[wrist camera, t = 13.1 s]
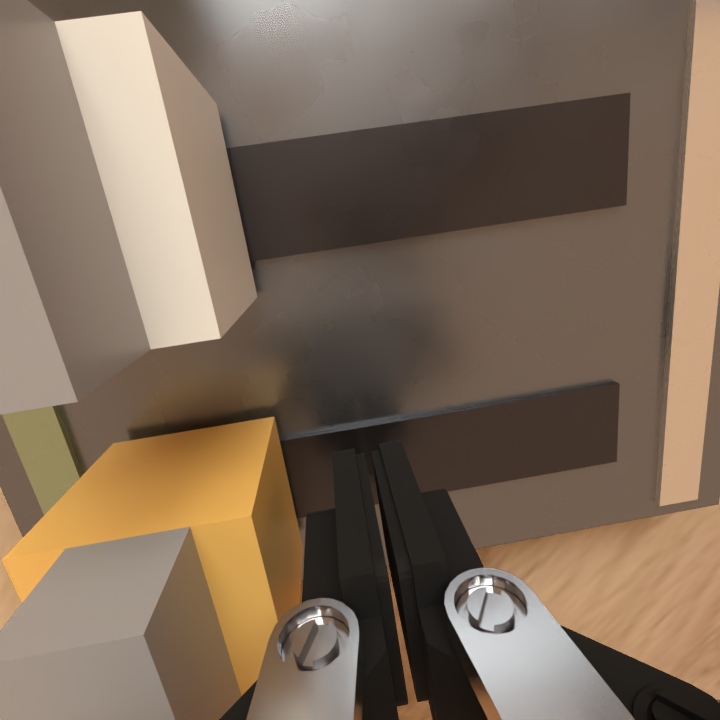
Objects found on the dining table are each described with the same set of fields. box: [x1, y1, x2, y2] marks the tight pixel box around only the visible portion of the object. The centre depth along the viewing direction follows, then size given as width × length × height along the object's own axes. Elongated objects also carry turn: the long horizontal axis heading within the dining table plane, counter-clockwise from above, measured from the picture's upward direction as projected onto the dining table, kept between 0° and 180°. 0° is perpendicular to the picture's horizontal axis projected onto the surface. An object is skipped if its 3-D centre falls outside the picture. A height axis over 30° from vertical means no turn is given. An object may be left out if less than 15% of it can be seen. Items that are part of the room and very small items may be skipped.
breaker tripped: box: [0, 417, 303, 720], centre depth 9 cm, size 4×4×6 cm
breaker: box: [0, 0, 257, 414], centre depth 7 cm, size 4×4×6 cm
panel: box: [0, 0, 720, 581], centre depth 11 cm, size 20×21×2 cm
